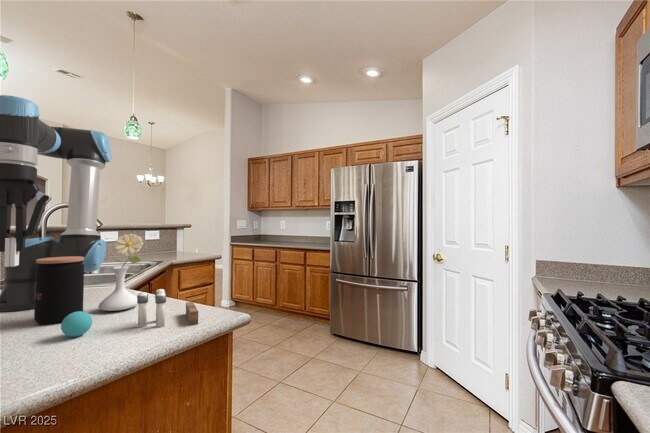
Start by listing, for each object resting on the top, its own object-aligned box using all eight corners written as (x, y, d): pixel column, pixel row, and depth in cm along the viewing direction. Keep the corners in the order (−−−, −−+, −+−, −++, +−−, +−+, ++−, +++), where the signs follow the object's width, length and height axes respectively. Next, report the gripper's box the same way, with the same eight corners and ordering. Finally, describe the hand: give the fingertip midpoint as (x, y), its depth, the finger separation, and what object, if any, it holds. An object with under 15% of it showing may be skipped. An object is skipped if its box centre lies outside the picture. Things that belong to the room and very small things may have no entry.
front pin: (136, 325, 82) (137, 292, 82) (147, 323, 83) (148, 291, 83) (136, 328, 79) (137, 294, 80) (147, 326, 81) (148, 293, 81)
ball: (63, 334, 75) (64, 310, 75) (93, 330, 78) (94, 307, 78) (57, 342, 70) (58, 317, 70) (89, 337, 73) (90, 313, 73)
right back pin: (154, 325, 82) (155, 292, 82) (165, 323, 83) (166, 291, 83) (155, 328, 79) (155, 294, 80) (165, 326, 81) (166, 293, 81)
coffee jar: (44, 316, 89) (46, 257, 90) (88, 312, 94) (89, 255, 94) (25, 327, 80) (27, 261, 80) (75, 322, 84) (76, 259, 84)
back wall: (185, 313, 92) (185, 302, 92) (192, 313, 93) (192, 301, 93) (190, 325, 82) (190, 312, 82) (198, 324, 83) (198, 311, 83)
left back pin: (154, 320, 86) (155, 289, 86) (164, 319, 87) (165, 288, 88) (154, 323, 84) (155, 291, 84) (165, 321, 85) (165, 290, 85)
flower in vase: (88, 314, 92) (90, 234, 93) (114, 304, 103) (115, 232, 104) (131, 313, 92) (132, 234, 93) (151, 304, 104) (153, 232, 104)
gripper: (-36, 158, 62) (-40, 270, 62) (47, 164, 69) (45, 265, 68) (-19, 164, 69) (-22, 265, 68) (56, 169, 76) (54, 262, 75)
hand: (11, 265), depth 68 cm, fingers closed
